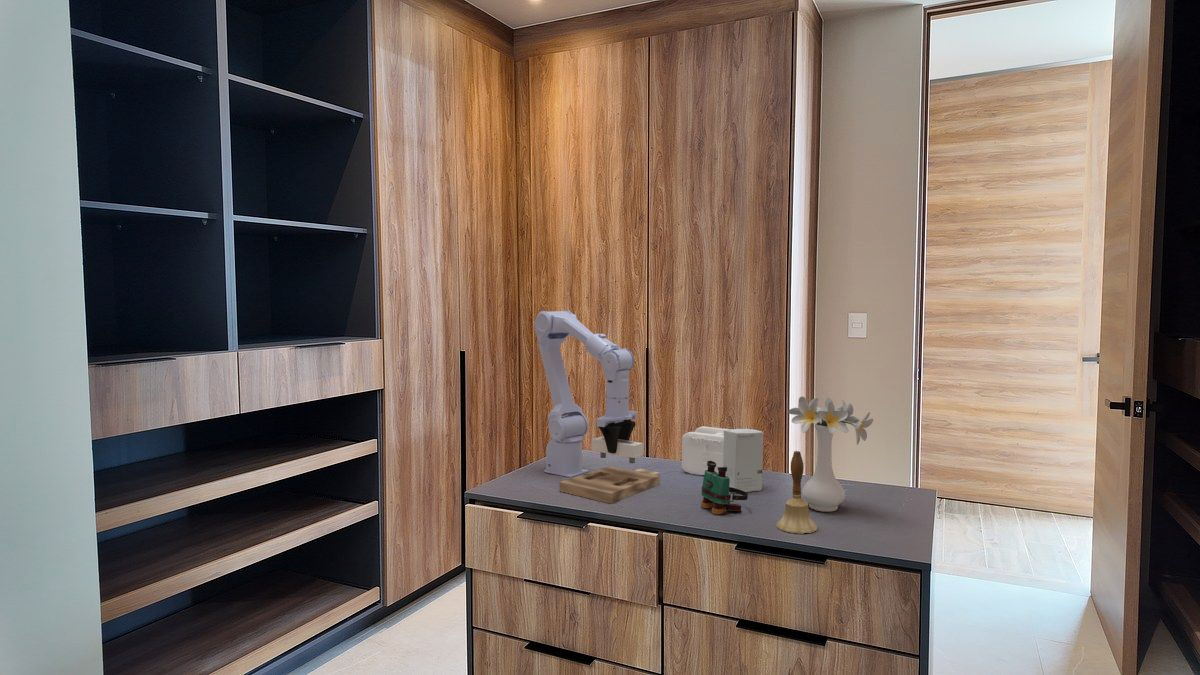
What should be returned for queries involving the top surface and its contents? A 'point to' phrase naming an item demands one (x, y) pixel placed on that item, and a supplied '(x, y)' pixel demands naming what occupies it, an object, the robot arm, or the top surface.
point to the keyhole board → (609, 484)
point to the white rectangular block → (619, 448)
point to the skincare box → (743, 458)
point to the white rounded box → (702, 449)
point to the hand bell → (797, 504)
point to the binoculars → (719, 490)
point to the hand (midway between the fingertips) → (617, 451)
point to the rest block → (648, 472)
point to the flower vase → (826, 448)
